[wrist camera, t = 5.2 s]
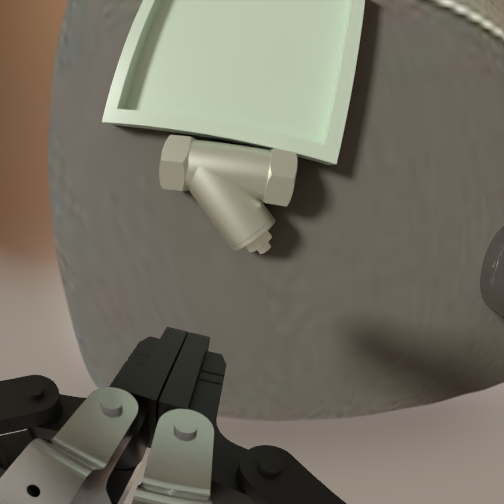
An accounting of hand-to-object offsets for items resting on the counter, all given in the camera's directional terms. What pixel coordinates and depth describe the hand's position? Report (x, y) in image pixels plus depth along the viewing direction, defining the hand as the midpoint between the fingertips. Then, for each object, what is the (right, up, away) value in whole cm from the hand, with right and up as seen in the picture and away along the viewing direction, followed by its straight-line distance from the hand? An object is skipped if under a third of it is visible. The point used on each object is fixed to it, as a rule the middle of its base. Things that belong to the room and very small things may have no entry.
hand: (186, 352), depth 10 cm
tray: (+2, +19, +7) cm, 20 cm away
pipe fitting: (0, +4, +9) cm, 10 cm away
